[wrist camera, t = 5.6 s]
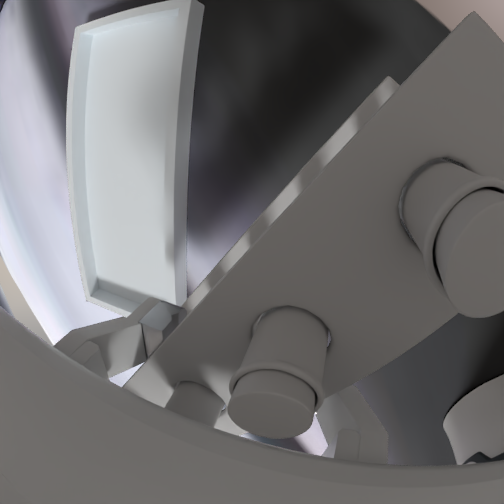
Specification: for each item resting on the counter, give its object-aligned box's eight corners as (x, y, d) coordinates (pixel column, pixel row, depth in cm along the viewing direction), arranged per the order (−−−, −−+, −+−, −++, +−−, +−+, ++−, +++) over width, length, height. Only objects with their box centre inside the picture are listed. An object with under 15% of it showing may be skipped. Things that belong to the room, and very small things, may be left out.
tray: (204, 5, 18) (191, -4, 16) (187, 323, 33) (178, 336, 31) (91, 30, 21) (75, 27, 19) (97, 290, 36) (86, 300, 34)
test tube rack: (386, 77, 12) (525, -35, 1) (443, 137, 13) (642, 209, 1) (159, 332, 24) (69, 447, 13) (198, 363, 25) (125, 487, 13)
